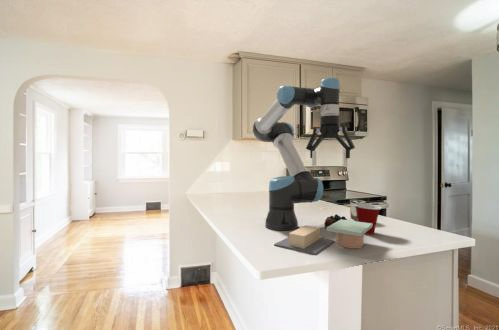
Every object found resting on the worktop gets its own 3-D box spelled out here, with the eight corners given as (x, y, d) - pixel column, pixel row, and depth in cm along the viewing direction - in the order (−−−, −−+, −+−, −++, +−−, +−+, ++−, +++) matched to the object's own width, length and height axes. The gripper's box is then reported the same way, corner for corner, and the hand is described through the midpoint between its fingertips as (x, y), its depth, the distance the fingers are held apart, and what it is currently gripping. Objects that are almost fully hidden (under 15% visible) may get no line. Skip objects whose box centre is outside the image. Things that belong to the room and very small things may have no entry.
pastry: (324, 230, 124) (324, 217, 124) (324, 223, 136) (324, 212, 136) (350, 231, 122) (350, 218, 121) (347, 225, 133) (348, 213, 133)
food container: (370, 223, 136) (371, 203, 136) (358, 223, 136) (358, 203, 136) (361, 217, 148) (361, 199, 148) (349, 217, 149) (349, 199, 148)
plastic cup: (384, 237, 113) (384, 207, 113) (356, 235, 115) (356, 206, 115) (377, 230, 124) (377, 203, 123) (352, 228, 126) (352, 202, 125)
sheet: (326, 230, 100) (326, 227, 100) (341, 222, 113) (341, 219, 113) (361, 236, 93) (361, 232, 93) (372, 226, 106) (372, 223, 106)
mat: (274, 245, 102) (274, 232, 102) (296, 234, 116) (296, 222, 116) (315, 254, 92) (315, 239, 92) (334, 241, 107) (334, 228, 106)
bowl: (333, 245, 102) (334, 229, 102) (341, 239, 109) (342, 224, 109) (359, 250, 97) (359, 233, 97) (365, 243, 104) (366, 227, 104)
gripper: (298, 117, 121) (298, 165, 122) (357, 112, 106) (357, 167, 107) (306, 119, 127) (305, 165, 128) (363, 114, 112) (362, 166, 113)
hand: (329, 166), depth 117 cm, fingers open, 13 cm apart
